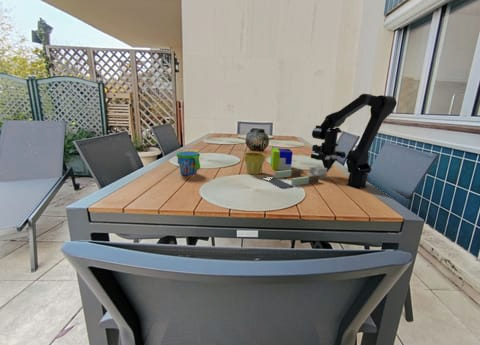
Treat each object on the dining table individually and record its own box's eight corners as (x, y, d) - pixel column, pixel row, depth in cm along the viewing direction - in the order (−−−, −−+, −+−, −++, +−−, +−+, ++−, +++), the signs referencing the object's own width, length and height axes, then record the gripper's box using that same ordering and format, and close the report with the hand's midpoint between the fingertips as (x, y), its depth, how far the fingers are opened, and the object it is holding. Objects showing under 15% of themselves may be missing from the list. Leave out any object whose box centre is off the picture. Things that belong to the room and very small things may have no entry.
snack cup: (171, 171, 122) (170, 151, 120) (190, 168, 129) (190, 149, 126) (186, 179, 111) (185, 157, 108) (206, 175, 117) (206, 154, 114)
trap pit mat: (293, 187, 106) (293, 186, 106) (282, 188, 103) (282, 187, 103) (271, 177, 119) (271, 176, 119) (261, 178, 116) (261, 177, 116)
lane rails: (318, 181, 114) (319, 175, 113) (293, 185, 107) (293, 179, 106) (298, 174, 125) (299, 168, 125) (274, 177, 118) (275, 171, 118)
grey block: (325, 178, 122) (327, 168, 120) (316, 179, 119) (318, 169, 117) (317, 175, 127) (318, 165, 125) (308, 176, 124) (309, 166, 123)
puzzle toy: (290, 170, 134) (292, 152, 131) (272, 169, 134) (273, 151, 131) (287, 166, 143) (289, 149, 141) (270, 165, 143) (271, 148, 141)
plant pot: (262, 176, 120) (263, 156, 117) (241, 174, 122) (242, 155, 119) (264, 171, 130) (266, 152, 127) (245, 169, 132) (246, 151, 129)
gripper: (331, 138, 132) (327, 166, 136) (304, 139, 123) (301, 169, 127) (348, 141, 123) (343, 171, 127) (321, 142, 114) (317, 175, 118)
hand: (326, 171), depth 125 cm, fingers closed
